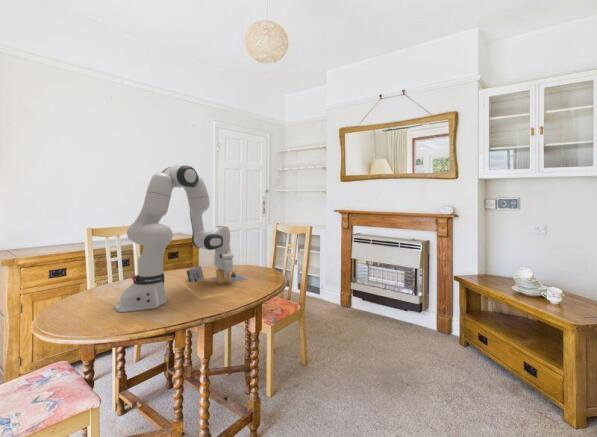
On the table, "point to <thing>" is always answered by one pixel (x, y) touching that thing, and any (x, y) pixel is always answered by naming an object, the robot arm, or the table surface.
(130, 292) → the robot arm
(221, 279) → the orange knobbed cube
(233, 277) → the board
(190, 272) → the electrical switch
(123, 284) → the table surface
